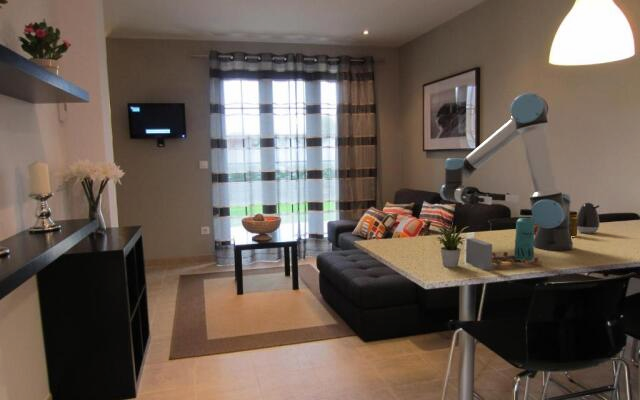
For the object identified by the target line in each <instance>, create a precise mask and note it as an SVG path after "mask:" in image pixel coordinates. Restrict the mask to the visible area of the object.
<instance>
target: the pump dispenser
mask: <svg viewBox="0 0 640 400" xmlns="http://www.w3.org/2000/svg"><path fill="white" fill-rule="evenodd" d="M599 208H600V205H599V204H598V205H594V204H593V203H591V202H585V203H583V204H582V205H581V206H580V209H579V210H578V211H577V217H578V226H577V232H580V233H581V232H584V233H583V234H586V233H592V234H595V233H596V232H597V231H598V230H599V228H600V218H599V213H598V210H597V209H599Z"/></svg>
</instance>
